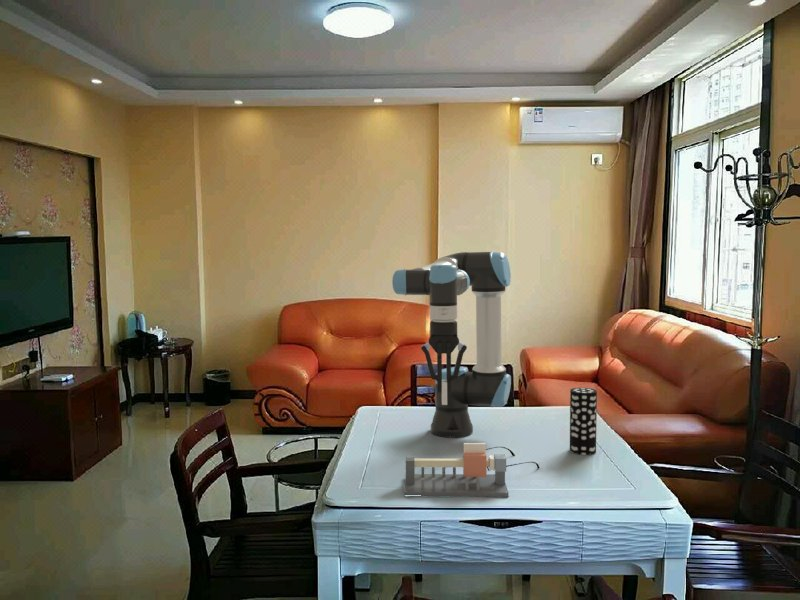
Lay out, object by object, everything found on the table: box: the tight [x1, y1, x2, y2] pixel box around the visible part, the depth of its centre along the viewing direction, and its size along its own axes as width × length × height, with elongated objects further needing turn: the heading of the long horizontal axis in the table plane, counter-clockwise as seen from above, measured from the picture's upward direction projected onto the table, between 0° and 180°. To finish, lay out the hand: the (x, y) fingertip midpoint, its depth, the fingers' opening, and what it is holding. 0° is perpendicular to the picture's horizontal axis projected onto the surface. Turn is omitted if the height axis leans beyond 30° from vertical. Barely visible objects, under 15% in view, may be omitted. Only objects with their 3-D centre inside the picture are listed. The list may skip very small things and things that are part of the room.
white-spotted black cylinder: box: [569, 387, 598, 456], centre depth 215 cm, size 8×8×20 cm
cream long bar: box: [414, 453, 507, 473], centre depth 185 cm, size 27×4×4 cm, turn 88°
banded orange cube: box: [462, 442, 487, 477], centre depth 184 cm, size 6×6×8 cm
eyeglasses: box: [486, 446, 540, 472], centre depth 203 cm, size 16×16×4 cm
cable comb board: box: [403, 456, 509, 498], centre depth 185 cm, size 28×14×8 cm, turn 88°
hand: (444, 403), depth 186 cm, fingers closed
